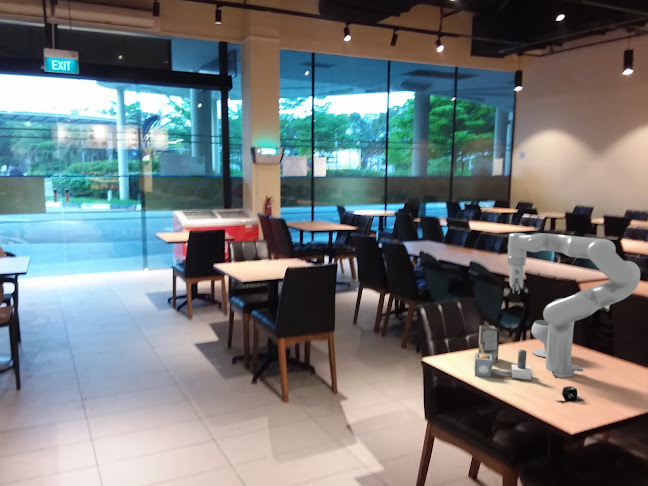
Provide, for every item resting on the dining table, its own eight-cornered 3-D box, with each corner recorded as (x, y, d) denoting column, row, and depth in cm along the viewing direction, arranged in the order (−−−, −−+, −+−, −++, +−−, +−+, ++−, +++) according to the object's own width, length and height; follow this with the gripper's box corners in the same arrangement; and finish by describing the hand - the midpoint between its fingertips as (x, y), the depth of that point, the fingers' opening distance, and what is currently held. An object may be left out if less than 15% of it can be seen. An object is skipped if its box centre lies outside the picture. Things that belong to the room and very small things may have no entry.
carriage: (529, 374, 211) (530, 349, 210) (531, 379, 205) (532, 354, 204) (511, 372, 213) (512, 347, 212) (512, 378, 207) (514, 352, 206)
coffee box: (498, 366, 225) (500, 330, 223) (483, 366, 225) (485, 330, 223) (491, 359, 234) (493, 324, 232) (477, 359, 234) (479, 324, 232)
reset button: (487, 361, 214) (488, 354, 213) (488, 364, 210) (488, 357, 210) (478, 361, 215) (479, 354, 214) (478, 363, 211) (479, 356, 211)
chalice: (562, 352, 245) (564, 321, 244) (562, 361, 233) (564, 328, 231) (531, 348, 251) (533, 317, 249) (529, 356, 239) (531, 324, 237)
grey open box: (490, 370, 216) (491, 354, 215) (491, 377, 208) (492, 360, 207) (474, 368, 218) (475, 352, 217) (474, 375, 210) (475, 359, 209)
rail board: (529, 377, 213) (530, 369, 212) (532, 385, 204) (533, 377, 204) (474, 371, 218) (474, 363, 218) (474, 379, 210) (475, 371, 209)
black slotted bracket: (560, 405, 188) (561, 392, 187) (548, 396, 195) (548, 385, 195) (590, 402, 191) (591, 390, 190) (576, 394, 198) (577, 383, 197)
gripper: (528, 264, 216) (525, 304, 218) (523, 259, 233) (521, 296, 235) (509, 263, 218) (506, 303, 220) (505, 258, 235) (503, 295, 237)
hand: (514, 299), depth 228 cm, fingers open, 9 cm apart
